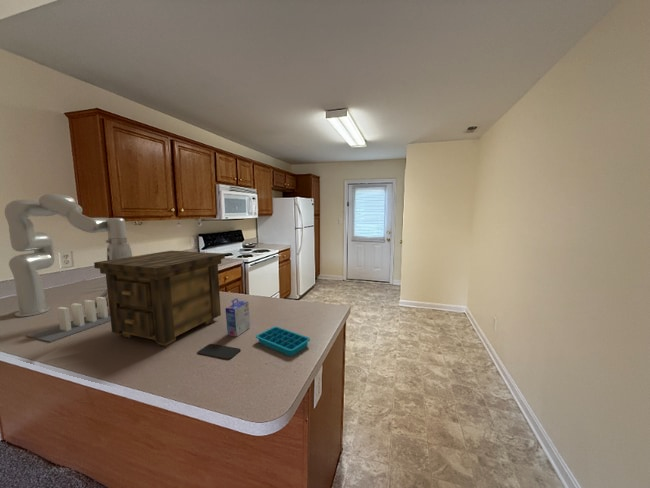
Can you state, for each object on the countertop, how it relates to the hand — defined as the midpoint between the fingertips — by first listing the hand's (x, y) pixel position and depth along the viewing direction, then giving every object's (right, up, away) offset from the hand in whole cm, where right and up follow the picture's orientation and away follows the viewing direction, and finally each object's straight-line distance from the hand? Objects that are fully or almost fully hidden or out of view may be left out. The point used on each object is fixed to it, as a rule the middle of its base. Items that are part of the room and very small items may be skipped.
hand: (121, 275), depth 140 cm
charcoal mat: (-6, -21, -14) cm, 26 cm away
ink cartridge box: (+70, -22, -23) cm, 77 cm away
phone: (+69, -25, -41) cm, 83 cm away
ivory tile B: (-5, -21, -12) cm, 24 cm away
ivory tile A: (-3, -20, -8) cm, 22 cm away
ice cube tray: (+92, -24, -35) cm, 101 cm away
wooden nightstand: (+38, -22, -20) cm, 48 cm away
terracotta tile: (-2, -19, -3) cm, 20 cm away
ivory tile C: (-7, -21, -17) cm, 28 cm away
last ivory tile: (-8, -22, -22) cm, 32 cm away
